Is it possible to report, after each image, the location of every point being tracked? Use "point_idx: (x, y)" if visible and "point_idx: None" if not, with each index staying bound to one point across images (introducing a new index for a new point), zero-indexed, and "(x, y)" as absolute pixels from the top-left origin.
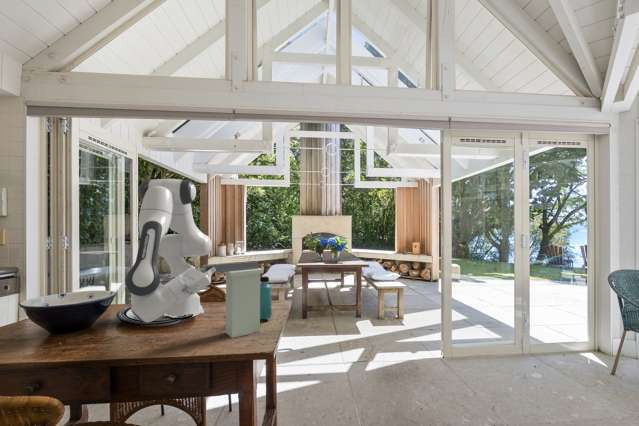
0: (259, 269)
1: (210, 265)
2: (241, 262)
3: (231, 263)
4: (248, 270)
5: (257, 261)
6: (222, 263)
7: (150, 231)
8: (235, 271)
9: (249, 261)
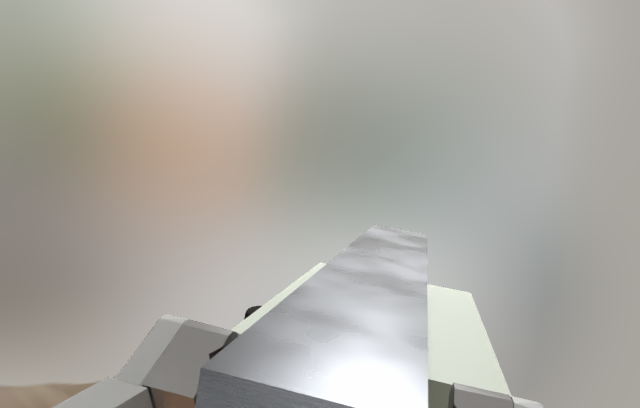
0: (459, 296)
1: (417, 363)
2: (399, 246)
3: (404, 265)
4: (460, 319)
5: (422, 233)
6: (332, 270)
7: None
8: (450, 356)
9: (386, 233)
